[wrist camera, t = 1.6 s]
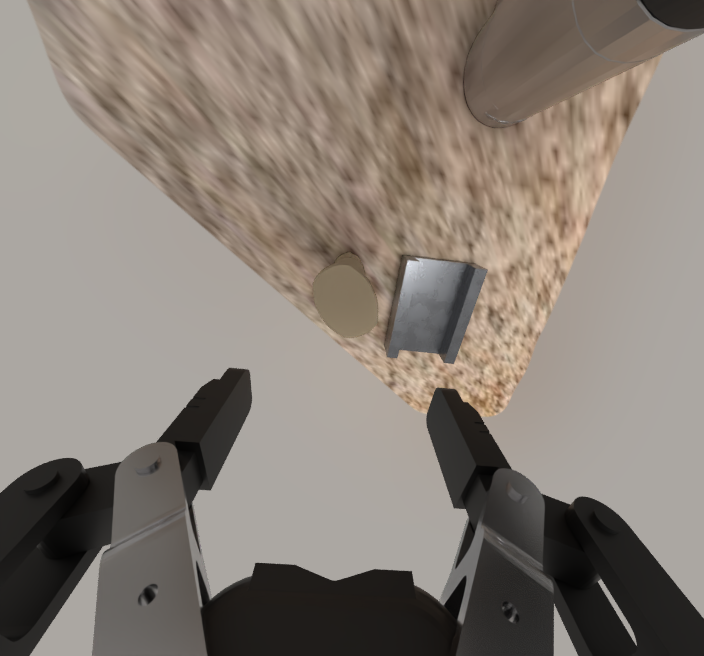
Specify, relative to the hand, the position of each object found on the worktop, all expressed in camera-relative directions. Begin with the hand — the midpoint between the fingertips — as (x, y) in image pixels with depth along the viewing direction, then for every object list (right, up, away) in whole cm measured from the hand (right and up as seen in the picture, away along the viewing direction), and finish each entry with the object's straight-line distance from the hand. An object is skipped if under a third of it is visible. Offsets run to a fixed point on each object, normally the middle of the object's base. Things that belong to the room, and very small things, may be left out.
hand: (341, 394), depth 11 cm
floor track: (+11, +6, +26) cm, 29 cm away
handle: (0, +12, +23) cm, 26 cm away
